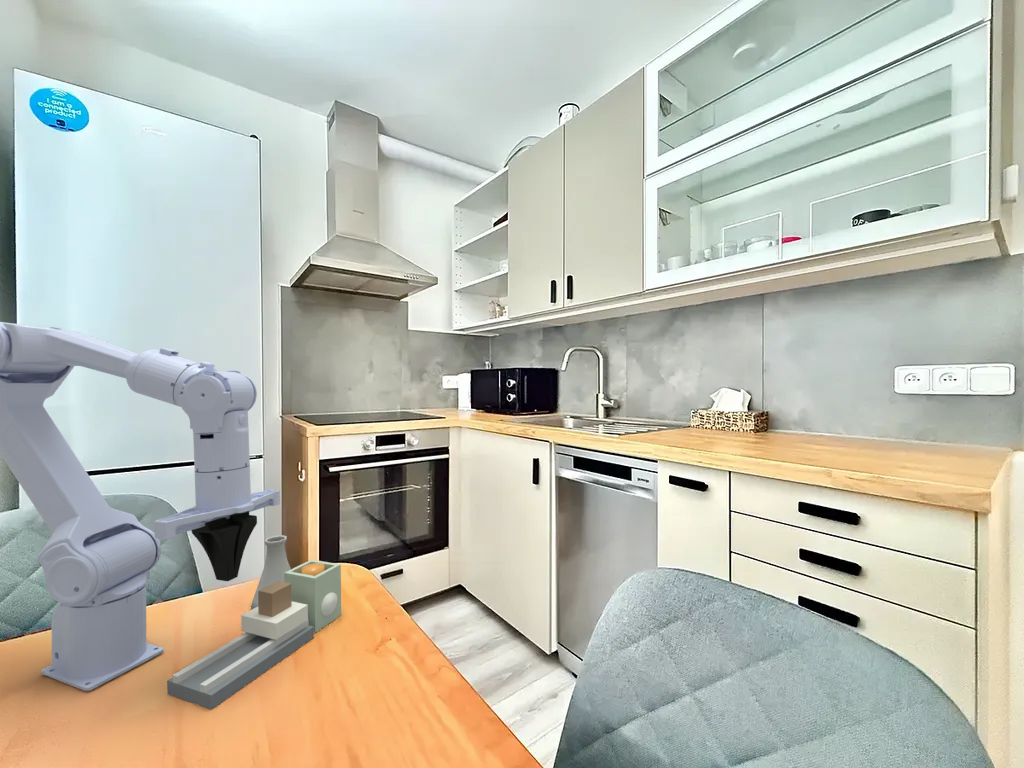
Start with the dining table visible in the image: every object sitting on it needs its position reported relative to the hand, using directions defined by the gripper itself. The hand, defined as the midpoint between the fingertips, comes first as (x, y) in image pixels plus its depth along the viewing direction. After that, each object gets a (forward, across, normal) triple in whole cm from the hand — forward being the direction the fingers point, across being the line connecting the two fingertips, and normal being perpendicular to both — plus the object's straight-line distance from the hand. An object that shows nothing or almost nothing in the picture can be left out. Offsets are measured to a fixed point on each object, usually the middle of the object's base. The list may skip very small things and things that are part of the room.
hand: (227, 578), depth 54 cm
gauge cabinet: (+11, +11, -2) cm, 16 cm away
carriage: (+8, +5, -2) cm, 9 cm away
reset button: (+5, +11, -2) cm, 12 cm away
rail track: (+10, +1, -2) cm, 11 cm away
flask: (+11, +14, +8) cm, 19 cm away
